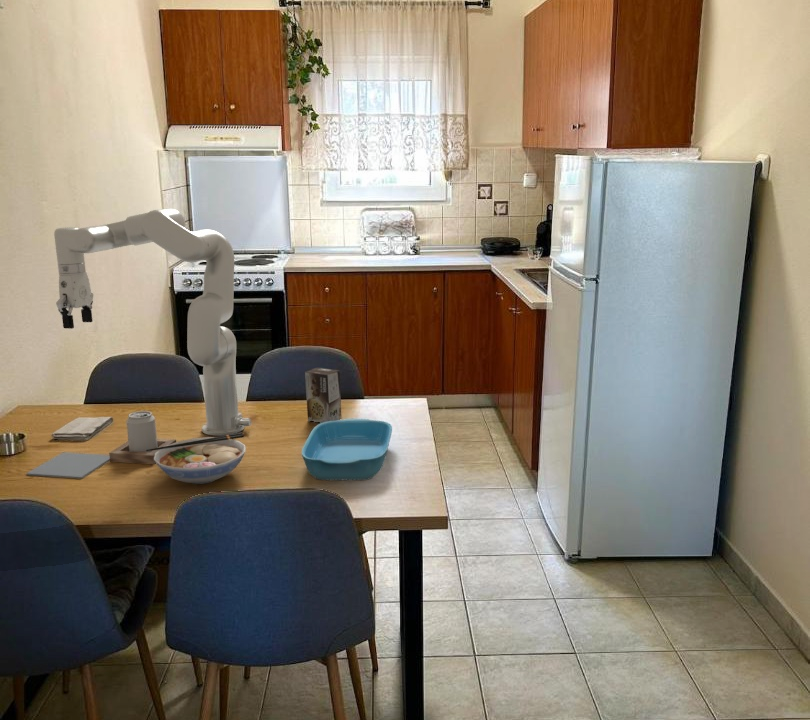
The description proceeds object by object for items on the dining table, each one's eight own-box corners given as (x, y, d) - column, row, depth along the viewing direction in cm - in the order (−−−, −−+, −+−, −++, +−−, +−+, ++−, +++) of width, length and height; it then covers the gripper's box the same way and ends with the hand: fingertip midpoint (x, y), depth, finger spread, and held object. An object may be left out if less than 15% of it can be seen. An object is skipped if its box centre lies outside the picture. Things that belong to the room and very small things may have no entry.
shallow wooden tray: (176, 447, 227) (175, 439, 227) (154, 464, 215) (153, 455, 214) (134, 445, 230) (134, 437, 229) (110, 461, 217) (109, 452, 217)
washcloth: (50, 442, 235) (48, 432, 234) (77, 423, 252) (76, 414, 252) (89, 442, 234) (88, 432, 234) (114, 423, 252) (113, 414, 251)
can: (153, 459, 219) (149, 417, 216) (125, 459, 219) (121, 417, 216) (161, 449, 226) (158, 409, 223) (135, 450, 226) (131, 409, 223)
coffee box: (342, 420, 250) (340, 370, 246) (329, 425, 245) (327, 374, 241) (319, 415, 255) (317, 366, 251) (306, 421, 249) (304, 371, 246)
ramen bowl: (157, 504, 189) (154, 471, 187) (146, 471, 210) (143, 442, 208) (261, 486, 199) (259, 455, 197) (241, 457, 219) (239, 428, 217)
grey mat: (115, 457, 221) (115, 455, 221) (81, 478, 206) (81, 477, 205) (63, 453, 224) (63, 452, 224) (26, 475, 209) (26, 473, 209)
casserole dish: (318, 439, 233) (317, 416, 232) (395, 439, 232) (394, 416, 230) (295, 489, 198) (294, 461, 196) (385, 489, 196) (384, 462, 195)
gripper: (65, 273, 231) (72, 331, 235) (99, 265, 247) (105, 320, 251) (42, 272, 232) (49, 330, 236) (77, 265, 249) (83, 319, 253)
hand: (78, 325), depth 244 cm, fingers open, 9 cm apart
